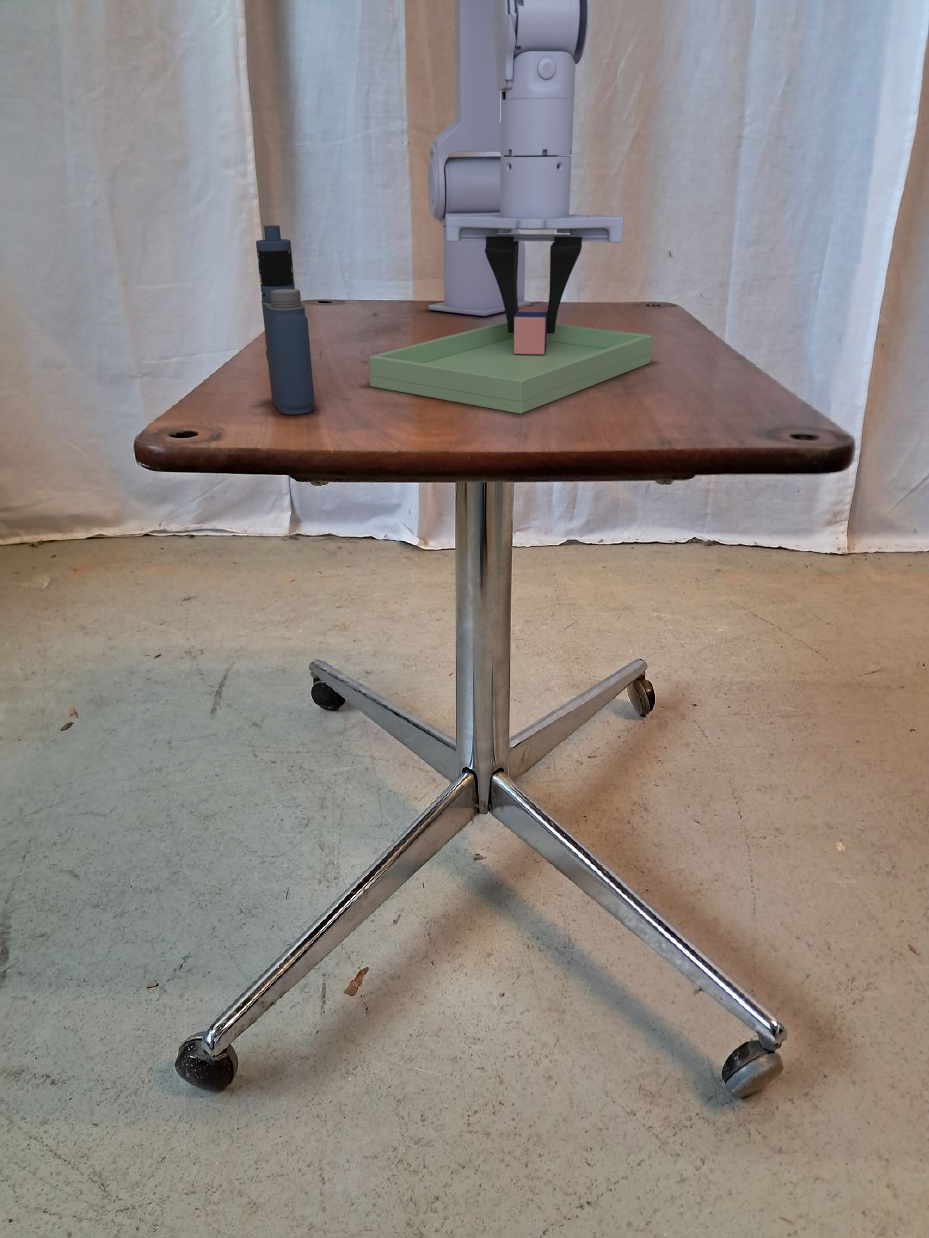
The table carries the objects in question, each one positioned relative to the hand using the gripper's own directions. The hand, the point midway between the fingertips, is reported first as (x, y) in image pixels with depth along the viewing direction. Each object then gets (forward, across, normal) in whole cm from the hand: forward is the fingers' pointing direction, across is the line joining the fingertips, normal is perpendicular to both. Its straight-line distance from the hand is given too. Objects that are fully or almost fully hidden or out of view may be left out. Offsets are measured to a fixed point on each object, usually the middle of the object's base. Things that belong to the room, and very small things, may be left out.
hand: (531, 331), depth 80 cm
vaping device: (+2, -16, -18) cm, 25 cm away
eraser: (+1, 0, 0) cm, 1 cm away
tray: (+2, -1, -6) cm, 7 cm away
